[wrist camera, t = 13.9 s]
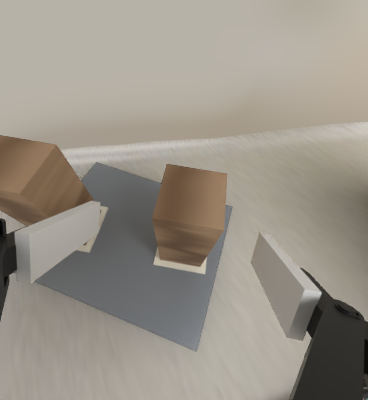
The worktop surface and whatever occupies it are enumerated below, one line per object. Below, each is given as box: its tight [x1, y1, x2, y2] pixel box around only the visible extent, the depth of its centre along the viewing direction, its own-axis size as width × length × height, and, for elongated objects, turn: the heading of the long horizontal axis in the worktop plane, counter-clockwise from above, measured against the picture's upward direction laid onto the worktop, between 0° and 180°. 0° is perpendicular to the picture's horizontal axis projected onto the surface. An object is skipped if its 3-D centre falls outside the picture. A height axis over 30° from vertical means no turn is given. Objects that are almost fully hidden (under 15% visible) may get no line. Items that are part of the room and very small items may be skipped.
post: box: [152, 164, 227, 267], centre depth 19 cm, size 5×5×12 cm
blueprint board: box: [14, 162, 232, 352], centre depth 25 cm, size 23×18×1 cm
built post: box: [0, 135, 101, 246], centre depth 20 cm, size 5×5×12 cm
